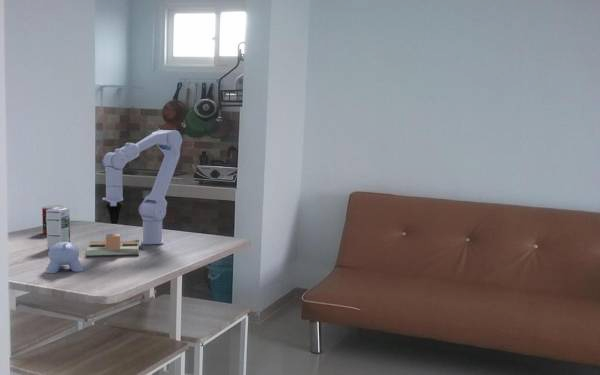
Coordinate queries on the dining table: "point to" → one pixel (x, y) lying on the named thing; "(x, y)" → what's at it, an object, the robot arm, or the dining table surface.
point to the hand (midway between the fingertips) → (114, 223)
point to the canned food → (45, 215)
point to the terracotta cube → (112, 241)
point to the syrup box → (57, 226)
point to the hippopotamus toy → (64, 257)
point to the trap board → (125, 249)
